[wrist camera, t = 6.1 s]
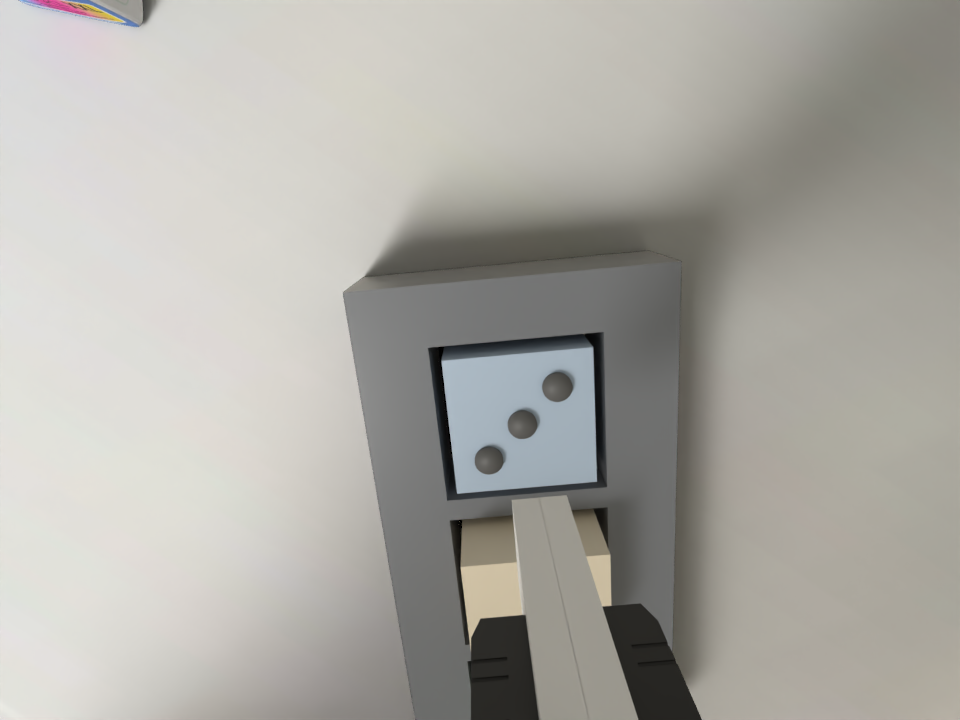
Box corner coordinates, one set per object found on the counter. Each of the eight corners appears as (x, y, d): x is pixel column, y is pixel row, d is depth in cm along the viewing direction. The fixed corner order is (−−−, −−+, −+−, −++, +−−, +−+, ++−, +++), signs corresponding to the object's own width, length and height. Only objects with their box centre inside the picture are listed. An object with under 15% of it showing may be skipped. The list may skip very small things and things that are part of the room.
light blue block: (459, 450, 26) (456, 496, 22) (446, 335, 25) (441, 362, 21) (579, 440, 26) (598, 484, 22) (574, 323, 25) (594, 348, 21)
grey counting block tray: (434, 730, 32) (429, 801, 29) (363, 276, 24) (342, 292, 20) (646, 714, 32) (669, 783, 28) (648, 250, 24) (681, 261, 20)
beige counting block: (474, 612, 27) (474, 685, 23) (462, 510, 25) (460, 570, 21) (592, 602, 27) (613, 675, 23) (589, 499, 25) (611, 558, 21)
